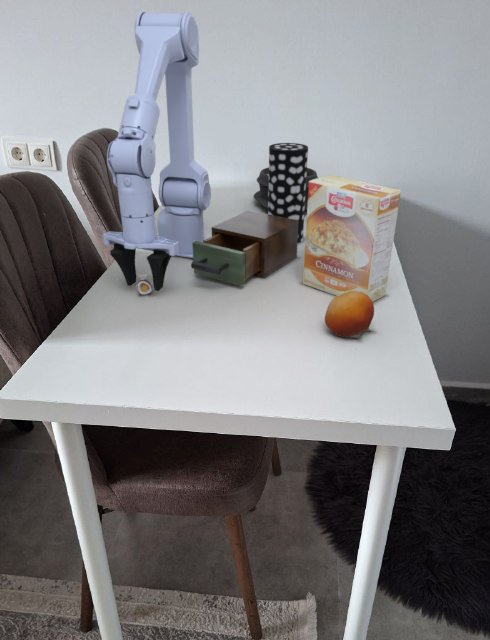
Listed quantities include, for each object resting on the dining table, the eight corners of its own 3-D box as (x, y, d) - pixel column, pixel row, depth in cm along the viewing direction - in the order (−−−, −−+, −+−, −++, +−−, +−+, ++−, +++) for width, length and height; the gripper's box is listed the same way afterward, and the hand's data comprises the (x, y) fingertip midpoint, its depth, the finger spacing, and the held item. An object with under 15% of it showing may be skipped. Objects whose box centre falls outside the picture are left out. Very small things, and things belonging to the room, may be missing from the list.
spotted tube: (262, 242, 131) (263, 148, 120) (274, 231, 138) (277, 141, 126) (296, 247, 129) (301, 152, 117) (307, 235, 135) (313, 144, 124)
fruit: (372, 342, 90) (352, 296, 87) (331, 353, 95) (311, 309, 93) (390, 322, 95) (372, 278, 93) (350, 333, 100) (332, 292, 98)
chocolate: (155, 291, 109) (153, 271, 106) (152, 296, 107) (150, 275, 105) (139, 290, 109) (137, 270, 107) (136, 295, 107) (134, 275, 105)
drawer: (229, 293, 106) (228, 261, 102) (180, 280, 111) (178, 248, 107) (275, 265, 117) (276, 235, 114) (229, 254, 122) (228, 225, 119)
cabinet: (264, 278, 114) (264, 238, 109) (212, 265, 119) (211, 227, 115) (296, 257, 123) (298, 220, 119) (247, 246, 129) (247, 210, 124)
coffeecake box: (301, 284, 112) (307, 180, 101) (323, 273, 116) (331, 173, 105) (364, 307, 103) (379, 197, 92) (386, 295, 108) (402, 188, 96)
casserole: (322, 218, 146) (325, 184, 141) (250, 216, 147) (250, 182, 142) (319, 192, 166) (322, 161, 161) (256, 190, 167) (256, 160, 162)
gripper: (88, 214, 98) (100, 288, 106) (162, 225, 94) (168, 301, 102) (112, 203, 104) (121, 274, 112) (182, 213, 99) (187, 286, 107)
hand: (145, 286), depth 107 cm, fingers open, 5 cm apart
